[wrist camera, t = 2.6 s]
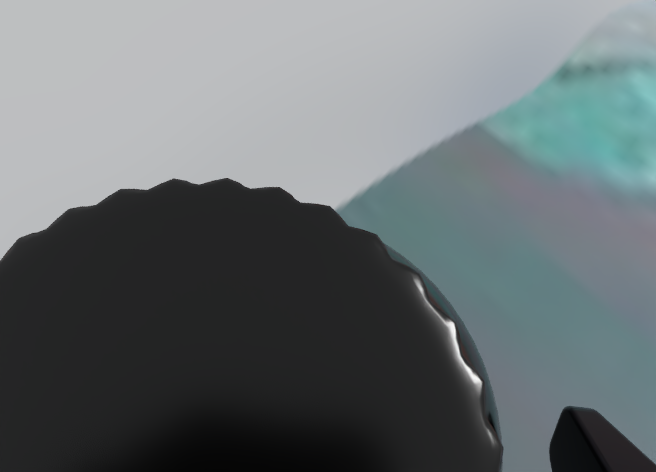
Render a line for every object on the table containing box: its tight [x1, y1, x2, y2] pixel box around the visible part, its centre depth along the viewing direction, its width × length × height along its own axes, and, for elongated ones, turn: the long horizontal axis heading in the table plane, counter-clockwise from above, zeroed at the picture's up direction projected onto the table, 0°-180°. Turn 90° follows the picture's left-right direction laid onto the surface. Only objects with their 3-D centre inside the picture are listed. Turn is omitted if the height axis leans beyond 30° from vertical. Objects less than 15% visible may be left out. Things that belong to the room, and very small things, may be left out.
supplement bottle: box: [0, 178, 503, 472], centre depth 9 cm, size 7×7×12 cm
